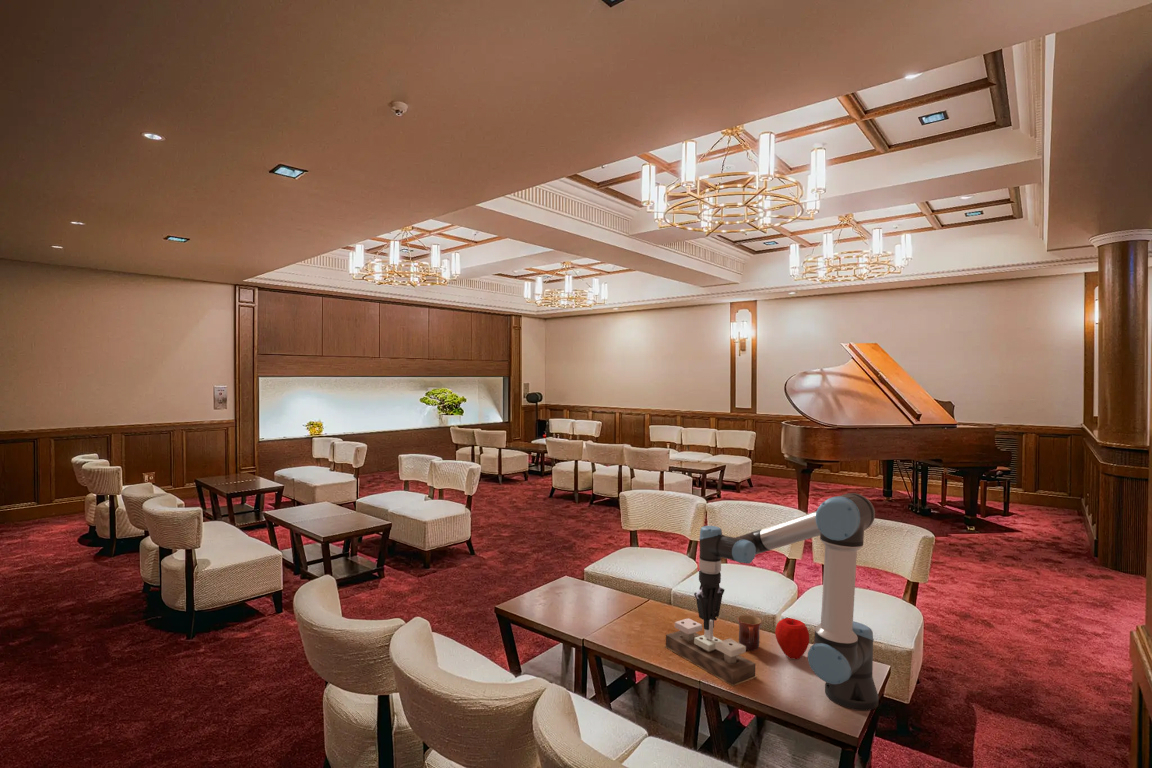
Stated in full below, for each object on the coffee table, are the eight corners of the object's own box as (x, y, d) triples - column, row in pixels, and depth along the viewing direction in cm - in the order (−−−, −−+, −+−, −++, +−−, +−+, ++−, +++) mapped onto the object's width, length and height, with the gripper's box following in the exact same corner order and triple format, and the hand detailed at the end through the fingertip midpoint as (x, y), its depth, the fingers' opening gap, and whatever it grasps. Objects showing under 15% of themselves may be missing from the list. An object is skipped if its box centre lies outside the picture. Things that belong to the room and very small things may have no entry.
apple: (767, 650, 208) (768, 614, 208) (795, 647, 211) (796, 612, 211) (787, 666, 197) (788, 627, 197) (816, 662, 200) (817, 624, 200)
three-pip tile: (722, 659, 198) (723, 640, 198) (708, 664, 194) (708, 644, 194) (707, 651, 204) (708, 633, 204) (693, 655, 200) (694, 637, 200)
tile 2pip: (701, 642, 206) (702, 624, 206) (687, 646, 202) (688, 628, 203) (688, 635, 212) (688, 617, 212) (674, 639, 208) (674, 621, 208)
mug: (735, 640, 216) (736, 613, 216) (759, 643, 214) (760, 616, 214) (738, 655, 204) (739, 626, 204) (763, 657, 202) (764, 629, 203)
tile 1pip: (745, 665, 189) (745, 645, 190) (731, 670, 186) (731, 650, 186) (729, 656, 195) (729, 637, 195) (715, 661, 192) (715, 642, 192)
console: (756, 677, 188) (756, 663, 188) (732, 686, 182) (733, 672, 182) (687, 639, 216) (687, 628, 216) (664, 646, 209) (664, 634, 209)
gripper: (714, 565, 206) (713, 630, 206) (688, 570, 199) (687, 638, 199) (730, 571, 200) (729, 638, 199) (704, 576, 193) (703, 646, 192)
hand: (708, 637), depth 199 cm, fingers closed
